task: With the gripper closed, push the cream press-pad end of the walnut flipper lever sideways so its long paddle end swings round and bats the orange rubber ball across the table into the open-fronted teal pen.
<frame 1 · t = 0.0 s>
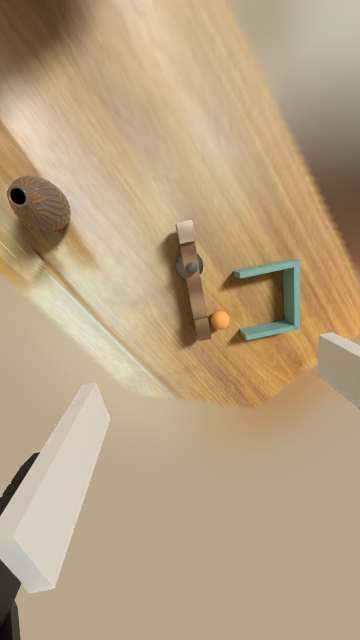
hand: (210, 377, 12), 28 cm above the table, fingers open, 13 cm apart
vase: (55, 210, 33), on the table
ball: (219, 320, 39), point 2 cm above the table
pivot base: (189, 266, 37), on the table
pen: (261, 298, 40), on the table
lever: (194, 284, 35), point 3 cm above the table, hinge at 0.0°
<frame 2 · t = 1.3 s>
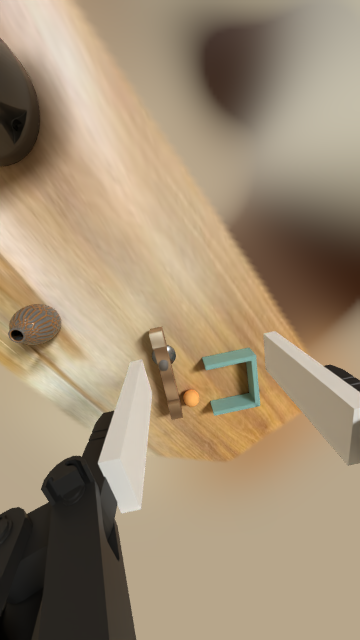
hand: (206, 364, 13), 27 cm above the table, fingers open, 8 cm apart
vase: (48, 317, 39), on the table
ball: (191, 398, 45), point 2 cm above the table
pivot base: (163, 355, 43), on the table
pen: (228, 377, 46), on the table
lever: (167, 374, 41), point 3 cm above the table, hinge at 0.0°
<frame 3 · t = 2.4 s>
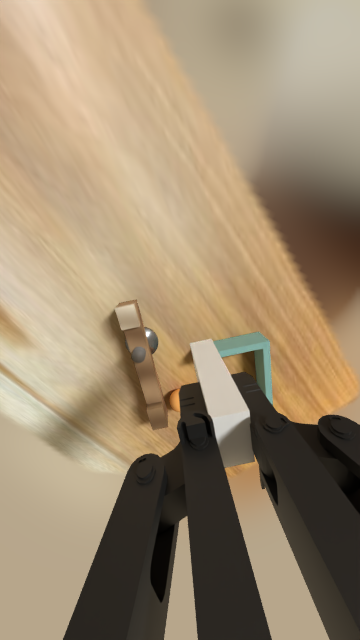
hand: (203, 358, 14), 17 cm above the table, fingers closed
ball: (180, 400, 33), point 2 cm above the table
pivot base: (142, 341, 31), on the table
pen: (229, 372, 34), on the table
lever: (145, 367, 30), point 3 cm above the table, hinge at 0.0°
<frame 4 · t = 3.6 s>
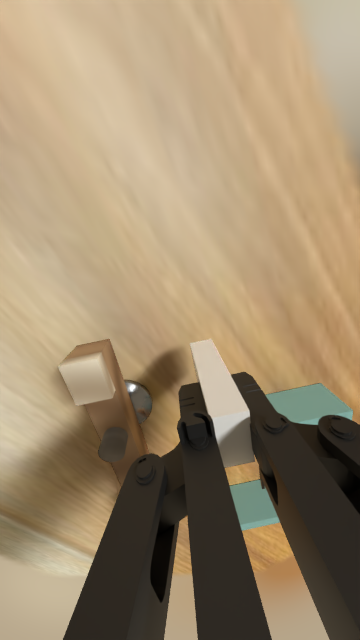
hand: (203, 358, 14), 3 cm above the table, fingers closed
pivot base: (124, 402, 18), on the table
pen: (267, 443, 21), on the table
lever: (128, 455, 17), point 3 cm above the table, hinge at 0.0°
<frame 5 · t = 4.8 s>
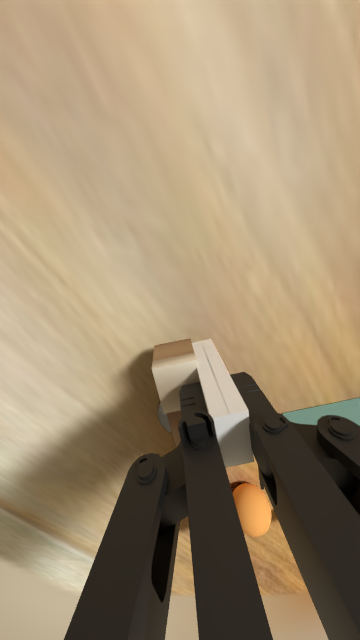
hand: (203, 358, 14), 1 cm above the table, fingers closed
ball: (250, 508, 19), point 2 cm above the table
pen: (332, 454, 20), on the table
lever: (199, 467, 15), point 3 cm above the table, hinge at 0.4°, touching gripper
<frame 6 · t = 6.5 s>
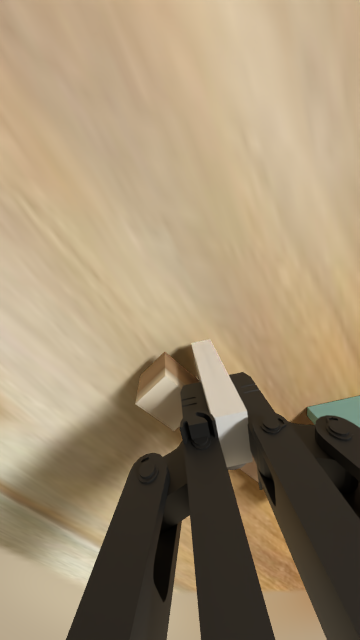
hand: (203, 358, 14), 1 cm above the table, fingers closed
pen: (355, 448, 20), on the table
lever: (250, 452, 15), point 3 cm above the table, hinge at 33.9°, touching gripper
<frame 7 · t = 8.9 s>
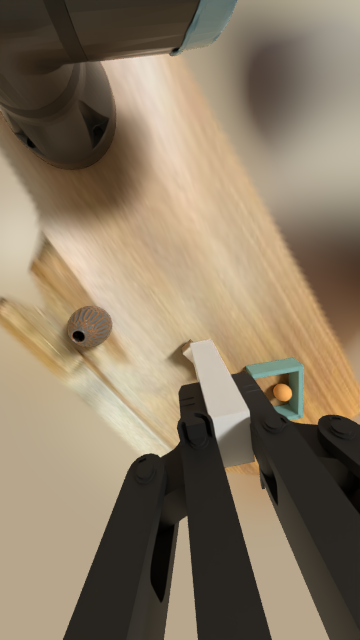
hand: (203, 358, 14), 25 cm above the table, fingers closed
vase: (97, 320, 39), on the table
ball: (282, 392, 44), point 2 cm above the table, tilted 6°
pen: (269, 387, 45), on the table
lever: (220, 378, 41), point 3 cm above the table, hinge at 34.8°
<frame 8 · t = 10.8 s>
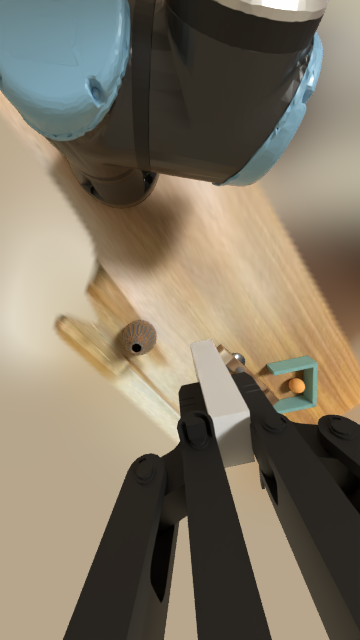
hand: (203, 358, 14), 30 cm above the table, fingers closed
vase: (141, 330, 46), on the table
ball: (296, 385, 51), point 2 cm above the table, tilted 22°
pivot base: (234, 362, 50), on the table
pen: (286, 381, 52), on the table
lever: (246, 375, 48), point 3 cm above the table, hinge at 34.8°
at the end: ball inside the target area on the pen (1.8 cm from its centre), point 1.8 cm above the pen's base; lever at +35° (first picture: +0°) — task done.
